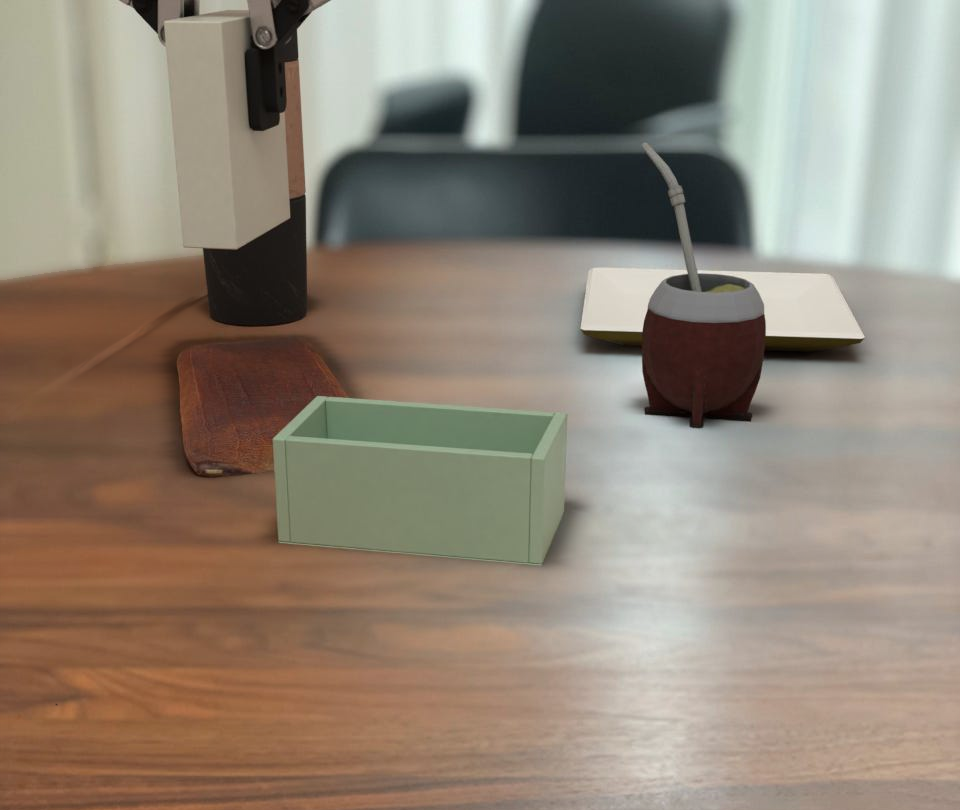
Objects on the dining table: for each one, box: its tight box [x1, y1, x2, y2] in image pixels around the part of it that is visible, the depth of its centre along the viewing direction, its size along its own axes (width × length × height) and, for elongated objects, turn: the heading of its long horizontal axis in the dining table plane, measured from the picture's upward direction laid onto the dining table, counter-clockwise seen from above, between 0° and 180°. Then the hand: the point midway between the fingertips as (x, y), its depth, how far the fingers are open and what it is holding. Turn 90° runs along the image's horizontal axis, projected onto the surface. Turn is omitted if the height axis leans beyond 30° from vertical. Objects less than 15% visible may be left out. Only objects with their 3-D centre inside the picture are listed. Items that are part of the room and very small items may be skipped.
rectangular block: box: [164, 9, 290, 250], centre depth 80 cm, size 9×3×11 cm, turn 169°
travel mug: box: [202, 29, 308, 327], centre depth 106 cm, size 8×8×20 cm
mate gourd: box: [641, 141, 766, 429], centre depth 85 cm, size 8×8×15 cm
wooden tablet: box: [176, 336, 349, 478], centre depth 89 cm, size 27×10×2 cm, turn 12°
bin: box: [273, 396, 568, 566], centre depth 70 cm, size 12×7×6 cm, turn 78°
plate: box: [580, 267, 866, 353], centre depth 107 cm, size 19×19×2 cm
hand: (231, 123), depth 80 cm, fingers closed on rectangular block, 3 cm apart
